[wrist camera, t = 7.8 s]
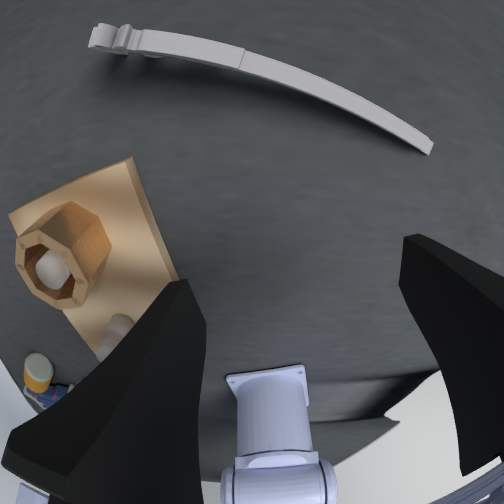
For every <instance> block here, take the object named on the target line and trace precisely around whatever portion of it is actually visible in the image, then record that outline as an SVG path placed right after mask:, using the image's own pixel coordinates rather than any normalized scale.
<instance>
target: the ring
mask: <svg viewBox="0 0 504 504" xmlns="http://www.w3.org/2000/svg"><path fill="white" fill-rule="evenodd" d="M111 248H112V245H111V243H110V241H109V239H108V236H107V234H106V232H105V230H104V228H103V225H102V223H101V221H100V218H99V217H98V216H97V215H95V214H94V213H92V212H90V211H88V210H87V209H85V208H83V207H81V206H80V205H78V204H76V203H74V202H73V201H69V202H67V203H64V204H62V205H59V206H57V207H54V208H52V209H50V210H48V211H47V212H46V213H45V214H43V215H42V216H41V217H40V218H39V219H38V220H37V221H35V222H34V223H33V224H32V225H31V226H30V227H29V228H28V229H26V230H25V231H24V232H23V233H22V234H21V235H20V236H19V237H18V238H17V241H16V260H15V266H16V267H17V269H18V271H19V273H20V274H21V276H22V278H23V279H24V281H25V283H26V284H27V286H28V287H29V289H30V291H31V292H32V294H34V295H36V296H37V297H39V298H40V299H42V300H43V301H45V302H47V303H48V304H50V305H51V306H53V307H55V308H56V309H58V310H62V309H70V308H78V307H82V306H83V304H84V302H85V301H86V299H87V297H88V295H89V294H90V292H91V290H92V289H93V287H94V285H95V283H96V282H97V280H98V279H99V277H100V275H101V274H102V272H103V270H104V268H105V265H106V262H107V259H108V257H109V254H110V251H111ZM49 249H51V250H52V251H54V252H56V253H57V254H59V255H60V256H62V257H63V259H64V260H65V262H66V264H67V266H68V268H69V270H70V271H71V274H70V276H69V277H68V279H67V280H66V282H65V283H64V284H63V286H62V287H61V288H60V289H57V290H55V289H51V288H49V287H47V286H46V285H45V284H43V283H42V281H41V280H40V279H39V277H38V275H37V272H36V264H37V262H38V261H39V260H40V259H41V258H42V257H43V255H44V254H45V253H46V252H47V251H48V250H49Z"/></svg>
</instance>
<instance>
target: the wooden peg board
mask: <svg viewBox="0 0 504 504" xmlns="http://www.w3.org/2000/svg"><path fill="white" fill-rule="evenodd" d="M69 201H73V202H74V203H76V204H78V205H80V206H81V207H83V208H85V209H87V210H88V211H90V212H92V213H94V214H95V215H97V216H98V217H99V218H100V221H101V223H102V225H103V228H104V230H105V232H106V234H107V236H108V239H109V241H110V243H111V245H112V248H111V251H110V254H109V257H108V259H107V262H106V265H105V268H104V270H103V272H102V274H101V275H100V277H99V279H98V280H97V282H96V283H95V285H94V287H93V289H92V290H91V292H90V294H89V295H88V297H87V299H86V301H85V302H84V304H83V306H82V307H78V308H70V309H62V311H63V312H64V314H65V315H66V317H67V318H68V319H69V321H70V322H71V324H72V325H73V326H74V328H75V329H76V330H77V332H78V333H79V334H80V336H81V337H82V338H83V339H84V341H85V342H86V343H87V344H88V346H89V347H90V348H91V349H92V351H93V352H94V353H95V354H96V357H97V359H98V360H99V361H100V362H102V361H103V360H104V359H105V358H106V357H107V356H108V355H109V354H110V353H111V352H112V350H113V349H114V348H115V347H116V346H117V345H118V344H119V342H120V341H121V340H122V339H123V338H124V336H125V335H126V334H127V333H128V332H129V331H130V329H131V328H132V327H133V326H134V325H135V324H136V322H137V321H138V320H139V318H140V317H141V316H142V315H143V313H144V312H145V311H146V310H147V309H148V307H149V306H150V305H151V303H152V302H153V301H154V300H155V298H156V297H157V296H158V295H159V294H160V292H161V291H162V290H163V289H164V288H165V286H166V285H167V284H168V283H169V282H172V281H177V280H180V279H179V277H178V275H177V273H176V270H175V268H174V266H173V263H172V261H171V259H170V256H169V254H168V251H167V249H166V247H165V244H164V242H163V239H162V237H161V234H160V232H159V229H158V227H157V224H156V222H155V219H154V216H153V214H152V211H151V208H150V206H149V203H148V200H147V198H146V195H145V192H144V189H143V187H142V184H141V181H140V178H139V175H138V172H137V169H136V167H135V164H134V161H133V158H132V157H130V158H127V159H124V160H122V161H119V162H116V163H114V164H111V165H108V166H106V167H103V168H101V169H98V170H96V171H93V172H91V173H89V174H86V175H84V176H82V177H79V178H77V179H75V180H72V181H70V182H68V183H66V184H64V185H61V186H59V187H57V188H55V189H53V190H51V191H49V192H47V193H45V194H43V195H41V196H39V197H37V198H35V199H33V200H31V201H29V202H27V203H25V204H23V205H22V206H20V207H18V208H16V209H15V210H14V211H12V212H11V213H10V214H9V218H10V220H11V222H12V224H13V226H14V229H15V231H16V233H17V235H18V237H19V236H20V235H21V234H22V233H23V232H24V231H25V230H26V229H28V228H29V227H30V226H31V225H32V224H33V223H34V222H35V221H37V220H38V219H39V218H40V217H41V216H42V215H43V214H45V213H46V212H47V211H48V210H50V209H52V208H54V207H57V206H59V205H62V204H64V203H67V202H69ZM36 272H37V275H38V277H39V279H40V280H41V281H42V283H43V284H45V285H46V286H47V287H49V288H51V289H55V290H57V289H60V288H61V287H62V286H63V284H64V283H65V282H66V280H67V279H68V277H69V276H70V274H71V271H70V270H69V268H68V266H67V264H66V262H65V260H64V259H63V257H62V256H60V255H59V254H57V253H56V252H54V251H52V250H51V249H49V250H48V251H47V252H46V253H45V254H44V255H43V257H42V258H41V259H40V260H39V261H38V262H37V264H36Z"/></svg>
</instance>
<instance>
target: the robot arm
mask: <svg viewBox="0 0 504 504" xmlns="http://www.w3.org/2000/svg"><path fill="white" fill-rule="evenodd" d="M399 287H400V289H401V292H402V294H403V297H404V299H405V301H406V304H407V306H408V308H409V310H410V312H411V314H412V316H413V317H414V319H415V321H416V323H417V325H418V326H419V328H420V330H421V332H422V334H423V335H424V337H425V339H426V341H427V343H428V345H429V347H430V348H431V350H432V352H433V354H434V356H435V358H436V360H437V363H438V365H439V367H440V370H441V372H442V376H443V379H444V381H445V384H446V388H447V390H448V394H449V398H450V402H451V406H452V409H453V414H454V419H455V425H456V430H457V437H458V446H459V459H460V470H461V473H462V476H463V477H464V476H466V475H468V474H470V473H472V472H473V471H475V470H477V469H479V468H480V467H482V466H484V465H486V464H487V463H489V462H490V461H492V460H494V459H495V458H497V457H498V456H500V458H501V461H502V463H500V464H499V465H497V466H496V467H495V468H493V469H491V470H490V471H488V472H487V473H485V474H484V475H482V476H481V477H479V478H477V479H476V480H474V481H472V482H471V483H469V484H467V485H465V486H463V487H462V488H460V489H458V490H456V491H454V492H452V493H450V494H448V495H447V496H444V497H442V498H440V499H438V500H436V501H434V502H431V503H429V504H474V503H475V502H477V501H479V500H480V499H482V498H484V497H485V496H487V495H488V494H490V496H489V498H487V499H484V500H482V501H480V502H478V503H475V504H504V277H503V276H501V275H499V274H497V273H495V272H493V271H491V270H489V269H487V268H485V267H483V266H481V265H479V264H477V263H476V262H474V261H472V260H470V259H468V258H466V257H465V256H463V255H461V254H459V253H457V252H455V251H454V250H452V249H450V248H448V247H446V246H444V245H442V244H440V243H439V242H437V241H435V240H433V239H430V238H428V237H426V236H424V235H421V234H414V235H410V236H405V237H404V241H403V252H402V261H401V270H400V278H399ZM205 353H206V321H205V319H204V317H203V315H202V313H201V310H200V308H199V306H198V304H197V301H196V299H195V297H194V295H193V292H192V290H191V288H190V285H189V283H188V281H187V279H183V280H177V281H172V282H169V283H168V284H167V285H166V286H165V288H164V289H163V290H162V291H161V292H160V294H159V295H158V296H157V297H156V298H155V300H154V301H153V302H152V303H151V305H150V306H149V307H148V309H147V310H146V311H145V312H144V313H143V315H142V316H141V317H140V318H139V320H138V321H137V322H136V324H135V325H134V326H133V327H132V328H131V329H130V331H129V332H128V333H127V334H126V335H125V336H124V338H123V339H122V340H121V341H120V342H119V344H118V345H117V346H116V347H115V348H114V349H113V350H112V352H111V353H110V354H109V355H108V356H107V357H106V358H105V359H104V360H103V361H102V362H101V363H100V364H99V365H98V366H97V367H96V368H95V369H94V370H93V371H92V372H91V373H90V374H89V375H88V376H87V377H86V378H84V379H83V380H82V381H81V382H80V383H79V384H78V385H76V386H75V387H74V388H73V389H72V390H71V391H70V392H68V393H67V394H66V395H65V396H64V397H62V398H61V399H60V400H58V401H57V402H56V403H54V404H53V405H52V406H50V407H49V408H47V409H46V410H44V411H43V412H42V413H40V414H38V415H37V416H35V417H34V418H32V419H30V420H29V421H27V422H25V423H23V424H22V425H20V426H18V427H17V428H15V429H13V430H12V431H11V433H10V435H9V438H8V441H7V444H6V447H5V450H4V454H3V457H2V461H1V464H2V466H3V467H4V468H5V469H7V470H8V471H10V472H11V473H13V474H15V475H16V476H18V477H20V478H21V479H23V480H25V481H26V482H28V483H30V484H32V485H34V486H35V487H37V488H39V489H41V490H43V491H45V492H47V493H49V494H50V496H47V495H45V494H43V493H41V492H39V491H38V490H35V489H34V488H31V487H29V486H27V485H25V484H23V483H20V485H19V490H18V495H17V500H16V504H204V502H203V495H202V488H201V478H200V468H199V450H198V409H199V400H200V392H201V384H202V376H203V369H204V361H205ZM226 381H227V382H228V384H229V386H230V388H231V390H232V391H233V393H234V395H235V397H236V398H237V457H235V465H228V466H227V468H225V469H224V470H223V472H222V476H221V488H220V489H221V490H220V495H221V496H220V497H221V504H336V503H337V494H338V492H337V481H336V476H335V472H334V469H333V467H332V465H331V464H330V463H329V462H327V461H326V460H325V459H324V458H321V459H319V458H318V452H317V451H315V452H313V448H312V441H311V434H310V427H309V421H308V414H307V407H306V406H308V405H309V400H308V391H307V383H306V376H305V368H304V366H303V365H294V366H289V367H283V368H277V369H270V370H264V371H256V372H249V373H241V374H232V375H228V376H226Z"/></svg>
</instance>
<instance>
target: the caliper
mask: <svg viewBox="0 0 504 504" xmlns="http://www.w3.org/2000/svg"><path fill="white" fill-rule="evenodd" d="M88 47H89V48H92V49H95V50H99V51H105V52H110V53H115V54H121V55H128V53H129V52H136V53H142V54H143V55H144V56H147V57H151V58H161V57H170V58H177V59H181V60H186V61H191V62H195V63H200V64H205V65H210V66H214V67H218V68H222V69H226V70H234V71H238V72H241V73H245V74H248V75H252V76H255V77H258V78H262V79H265V80H268V81H271V82H274V83H277V84H280V85H283V86H286V87H289V88H291V89H294V90H297V91H300V92H302V93H305V94H307V95H310V96H312V97H315V98H317V99H320V100H322V101H325V102H327V103H329V104H332V105H334V106H336V107H338V108H341V109H343V110H345V111H347V112H349V113H352V114H354V115H356V116H358V117H360V118H362V119H364V120H366V121H368V122H370V123H372V124H374V125H376V126H378V127H379V128H381V129H383V130H385V131H387V132H389V133H391V134H392V135H394V136H396V137H398V138H400V139H401V140H403V141H405V142H407V143H408V144H410V145H412V146H414V147H416V148H417V149H419V150H420V151H422V152H424V153H425V154H427V155H429V154H430V151H431V149H432V146H433V144H434V143H433V142H432V141H431V140H429V138H428V137H427V136H425V135H424V134H422V133H421V132H419V131H418V130H416V129H415V128H413V127H412V126H410V125H409V124H407V123H406V122H404V121H402V120H401V119H399V118H397V117H396V116H394V115H393V114H391V113H389V112H387V111H386V110H384V109H382V108H381V107H379V106H377V105H375V104H373V103H372V102H370V101H368V100H366V99H364V98H362V97H360V96H358V95H356V94H354V93H352V92H350V91H348V90H346V89H344V88H342V87H340V86H338V85H336V84H334V83H331V82H329V81H327V80H325V79H323V78H320V77H318V76H316V75H313V74H311V73H308V72H306V71H303V70H301V69H298V68H296V67H293V66H290V65H288V64H285V63H282V62H279V61H277V60H274V59H271V58H268V57H265V56H261V55H258V54H255V53H252V52H248V51H246V50H245V49H243V48H239V47H236V46H232V45H228V44H224V43H220V42H216V41H212V40H207V39H203V38H198V37H193V36H187V35H182V34H176V33H169V32H162V31H155V30H144V29H143V31H140V30H136V29H132V26H131V25H130V24H125V25H123V26H121V27H120V29H118V28H117V27H115V26H112V25H108V24H103V23H99V25H98V27H94V29H93V32H92V35H91V38H90V41H89V45H88Z"/></svg>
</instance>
